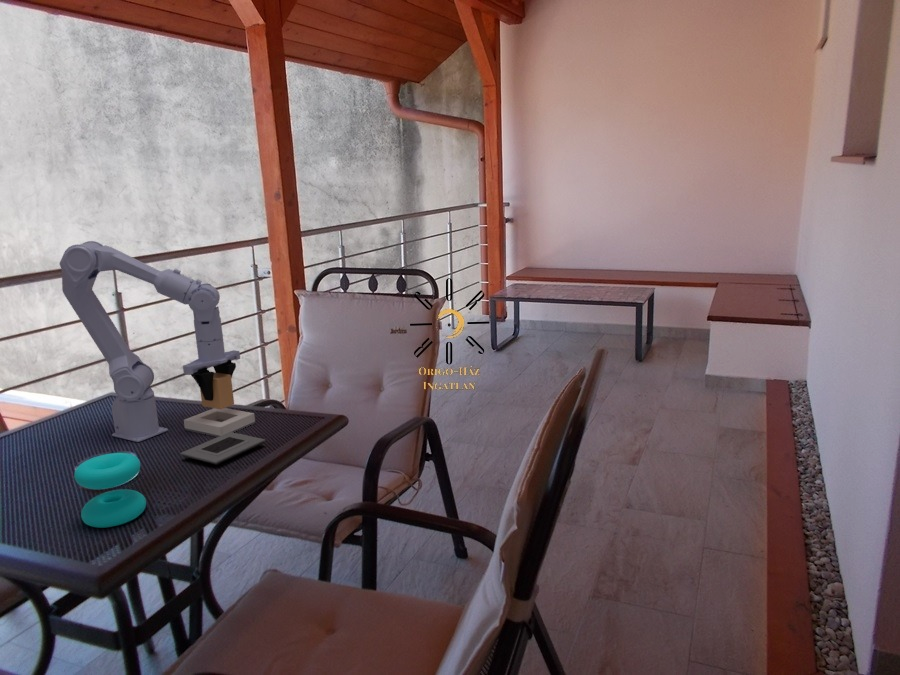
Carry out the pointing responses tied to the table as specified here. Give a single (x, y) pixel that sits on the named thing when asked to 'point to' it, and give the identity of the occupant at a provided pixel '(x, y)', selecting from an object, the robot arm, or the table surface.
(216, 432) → the socket block
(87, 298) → the robot arm
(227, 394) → the plug
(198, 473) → the table surface
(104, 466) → the donuts
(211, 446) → the electrical outlet
